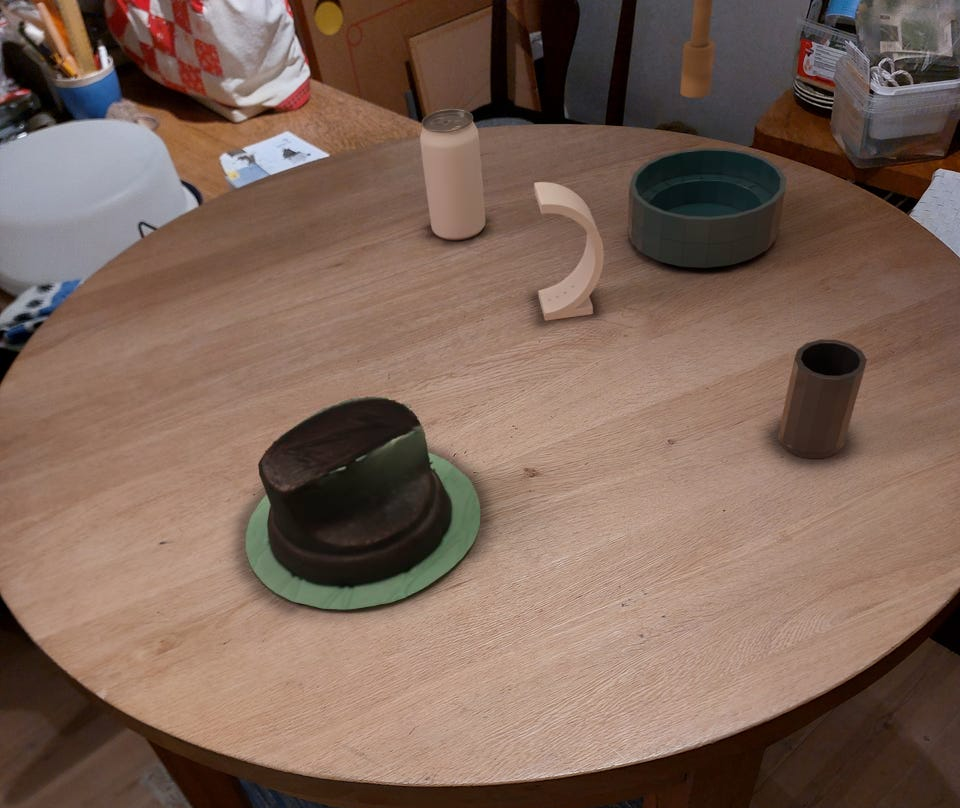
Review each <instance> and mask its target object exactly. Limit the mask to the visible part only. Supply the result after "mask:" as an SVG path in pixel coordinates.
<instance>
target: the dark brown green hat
mask: <svg viewBox="0 0 960 808" xmlns="http://www.w3.org/2000/svg"><path fill="white" fill-rule="evenodd" d="M410 408H412V406H411V403H410V402H402V403H401V402H399V401H398V400H397V399H389V398H388V397H387V396H384V397H382V396H369V395H367V396H364V397H356V398H352V397H351V398H350V397H349V399H346V400H342V401H341V402H339V403H337V404H336V403H335V404H333V405H330V406H327V407H323V408H321V409H319V410H318V411H316V412H315V413H313V414H311V415H310V416H307V417H306V418H304V419H303V420H301V421H299V422H298V423H297V424H296V425H295V426H294V427H292V428H291V429H289V430H287V431H286V432H284V433H282V434H281V435H280V436H279V437H278V438H276V440H274V441H273V442H272V444H271V445H270V446H269V447H268V448H267V449H266V450H264V453H263V455H262V456H261V458H260V459H259V461H258V464H257V467H258V476H259V477H260V480H261V483H262V486H263V488H264V491H265V495H264V496H263V498H262V499H261V500H260V502H259V503H258V505H257V507H256V508H255V510H254V511H253V513H252V514H251V516H250V518H249V521H248V524H247V527H246V532H245V553H246V557H247V560H248V563H249V565H250V568H251V570H252V571H253V572H254V574H255V575H256V577H258V579H259V581H261V583H262V584H264V585H265V587H267V588H268V589H269V590H271V591H272V592H274V594H276V595H278V596H281V597H283V598H285V599H287V600H288V601H291V602H293V603H297V604H303V605H307V606H311V607H316V608H319V609H324V610H343V611H344V610H356V609H362V608H368V607H374V606H379V605H384V604H391V603H393V602H396V601H398V600H403V599H405V598H407V597H409V596H411V595H413V594H414V593H417V592H419V591H421V590H423V589H424V588H426V587H428V586H429V585H431V584H432V583H433V582H435V581H436V580H438V579H439V578H441V577H442V576H444V575H445V574H446V573H448V572H449V571H451V569H453V567H455V566H456V565H457V564H458V563H459V562H460V561H462V559H463V558H464V557H465V555H466V554H467V553H468V551H469V550H470V548H471V547H472V546H473V545H474V542H475V540H476V539H477V536H478V534H479V529H480V525H481V504H480V499H479V496H478V494H477V491H476V489H475V486H474V484H473V483H472V481H471V480H470V479H469V477H468V476H467V475H466V474H465V473H463V472H462V471H461V470H460V469H458V468H457V467H456V466H455V465H454V464H453V463H451V462H450V461H448V460H447V459H444V458H442V457H440V456H438V455H437V454H434V453H431V452H429V450H428V443H427V439H426V432H425V430H424V427H423V425H422V423H421V422H420V420H419V419H418V416H417V415H416V414H415V412H414V411H413V410H412V409H410Z"/></svg>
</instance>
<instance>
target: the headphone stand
mask: <svg viewBox="0 0 960 808" xmlns="http://www.w3.org/2000/svg"><path fill="white" fill-rule="evenodd" d="M533 191H534V195H535V198H536V201H537V204H538V208H539V210H540V213H541V215H542V214H554V215H555V214H556V215H561V216H564V217H567V218H569V219H572V220H573V221H575V222H576V223H578V224H579V225H580V226H582V228H583V229H584V230H585V231H586V244H585V248H584V251H583V254H582V256H581V259H580V260H579V262H578V264H577V265H576V267H575V268H574V269H573V270H572V271H571V272H570V274H569V275H568V276H566V277H565V278H564V279H562V280H561V281H560V282H558V283H556V284H554V285H552V286H549V287H546V288H543V289H538V300H539V304H540V307H541V311H542V314H543V315H542V316H543V318H544V321H545V322H546V321H553V320H560V319H567V318H568V319H569V318H574V317H575V318H576V317H581V316H590V315H593V314H594V306H593V303H592V301H591V297H590V296H591V294H592V293H593V292H594V289H595V288H596V287H597V284H598V282H599V281H600V278H601V275H602V271H603V267H604V260H605V258H604V257H605V255H604V254H605V252H604V245H603V240H602V239H601V236H600V233H599V230H598V228H597V224H596V223H595V220H594V217H593V215H592V212H591V210H590V208H589V206H588V205H587V204H586V202H585V201H584V199H582V197H581V196H580V195H578V194H577V193H576V192H575V191H573V190H572V189H570V188H568V187H567V186H565V185H561V184H558V183H555V182H548V181H539V182H536V181H535V182H533Z"/></svg>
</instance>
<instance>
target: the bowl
mask: <svg viewBox="0 0 960 808" xmlns="http://www.w3.org/2000/svg"><path fill="white" fill-rule="evenodd" d="M787 181H788V179H787V177H786V175H785V174H784V172H783V170H782V168H781V167H780V166H778V165H776V164H775V163H774V162H772V161H771V160H769V159H768V158H766V157H763V156H762V155H761V156H760V155H758V154H755V153H752V152H750V151H745V150H740V149H734V148H727V147H726V148H725V147H699V148H691V149H680V150H677V151H673V152H670V153H665V154H663V155H659V156H657V157H655V158H652V159H651V160H649V161H647V162H645V163H643V164H642V165H641V166H640V167H639V168H638V169H637V170H636V171H634V173H633V174H632V176H631V179H630V182H629V185H628V186H629V187H628V208H627V209H628V212H627V234H628V237H629V240H630V244H632V245H633V246H634V247H635V248H636V249H637V250H638V251H639V252H640V253H641V254H642V255H645V256H647V257H649V258H651V259H654V260H656V261H658V262H660V263H663V264H669V265H672V266H677V267H682V268H683V267H684V268H701V269H703V268H704V269H706V268H716V267H725V266H732V265H736V264H739V263H742V262H746V261H749V260H752V259H755V257H757V256H759V255H760V254H762V253H764V252H766V251H768V250H769V248H770V247H771V246H772V244H773V243H774V242H775V241H776V240H777V238H778V235H779V234H778V233H779V228H780V222H781V216H782V211H783V205H784V200H785V194H786V187H787Z"/></svg>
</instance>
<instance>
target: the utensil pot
mask: <svg viewBox="0 0 960 808" xmlns="http://www.w3.org/2000/svg"><path fill="white" fill-rule="evenodd" d="M867 362H868V359H867V357H866V355H865V353H864V351H863V350H861V349H860V348H858V347H857V346H855V345H853V344H852V343H849V342H847V341H842V340H838V339H817V340H813V341H809V342H805V344H803V345H802V346H801V347H799V348H797V350H796V352H795V355H794V359H793V364H792V367H791V368H792V369H791V372H790V376H789V377H790V378H789V382H788V387H787V391H786V397H785V401H784V405H783V410H782V416H781V420H780V425H779V429H778V441H779V443H780V445H781V446H782V447H783V449H784V450H786V451H787V452H788V453H790V454H792V455H795V456H796V457H800V458H803V459H811V460H816V459H817V460H819V459H825V458H829V457H831V456H834V455H835V454H837V453H838V452H840V451H841V449H842V448H843V446H844V444H845V439H846V436H847V433H848V430H849V429H848V428H849V426H850V422H851V419H852V416H853V413H854V412H853V411H854V408H855V405H856V401H857V397H858V394H859V391H860V388H861V384H862V381H863V377H864V374H865V369H866V367H867Z"/></svg>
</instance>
